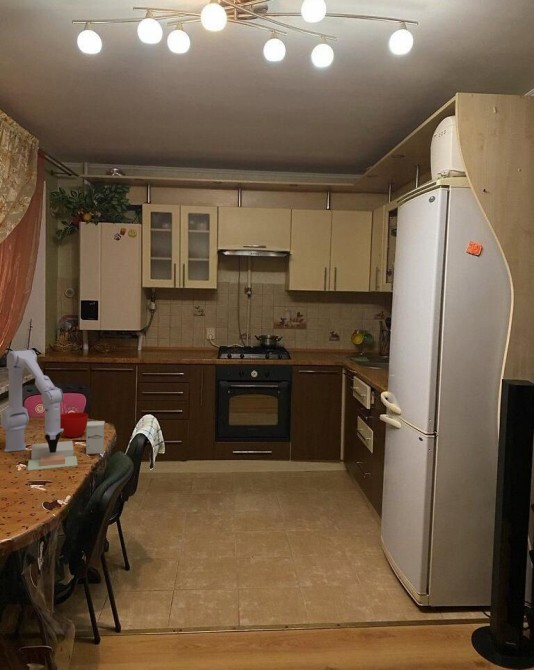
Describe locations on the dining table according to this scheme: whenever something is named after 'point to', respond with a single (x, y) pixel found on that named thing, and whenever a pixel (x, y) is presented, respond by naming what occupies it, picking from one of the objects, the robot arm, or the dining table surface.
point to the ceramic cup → (73, 423)
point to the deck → (43, 450)
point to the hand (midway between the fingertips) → (52, 452)
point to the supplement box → (95, 437)
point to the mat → (36, 465)
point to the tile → (52, 460)
